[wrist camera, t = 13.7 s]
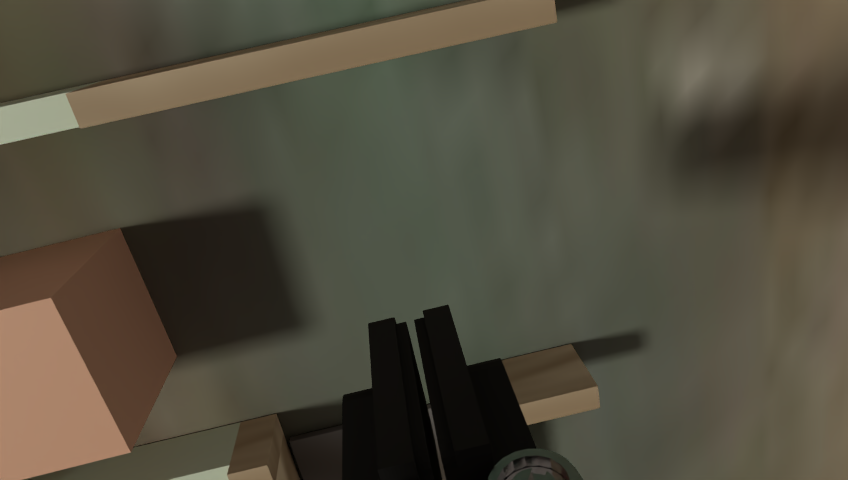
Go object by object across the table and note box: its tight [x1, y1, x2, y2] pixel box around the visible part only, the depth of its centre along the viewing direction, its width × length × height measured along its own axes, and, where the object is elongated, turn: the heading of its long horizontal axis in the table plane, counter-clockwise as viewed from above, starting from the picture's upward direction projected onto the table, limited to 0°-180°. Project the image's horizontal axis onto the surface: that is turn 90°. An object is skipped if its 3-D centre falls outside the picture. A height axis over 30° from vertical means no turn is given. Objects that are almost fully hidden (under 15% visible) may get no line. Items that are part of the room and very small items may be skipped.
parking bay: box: [66, 0, 600, 480], centre depth 23 cm, size 21×14×3 cm, turn 12°
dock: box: [0, 80, 240, 480], centre depth 21 cm, size 15×10×2 cm, turn 12°
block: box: [0, 228, 177, 480], centre depth 20 cm, size 6×6×6 cm
